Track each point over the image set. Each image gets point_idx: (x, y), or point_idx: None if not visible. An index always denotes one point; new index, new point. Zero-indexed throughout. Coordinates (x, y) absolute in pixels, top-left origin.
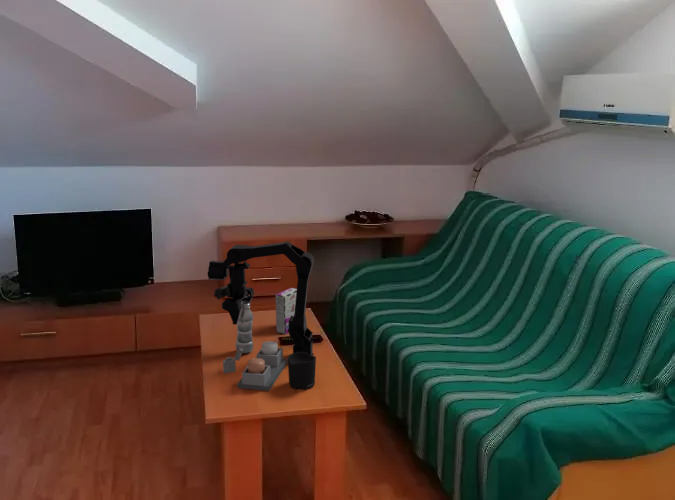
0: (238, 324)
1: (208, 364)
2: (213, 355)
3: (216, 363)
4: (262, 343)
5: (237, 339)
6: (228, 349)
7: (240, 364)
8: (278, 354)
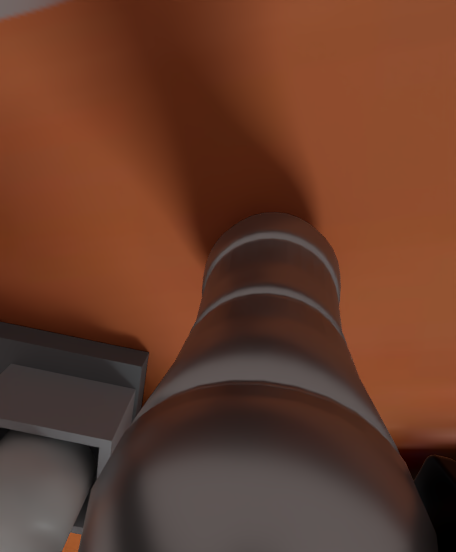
0: (175, 366)
1: (26, 15)
2: (207, 22)
3: (56, 82)
4: (3, 491)
5: (233, 255)
6: (332, 135)
7: (70, 256)
8: None
